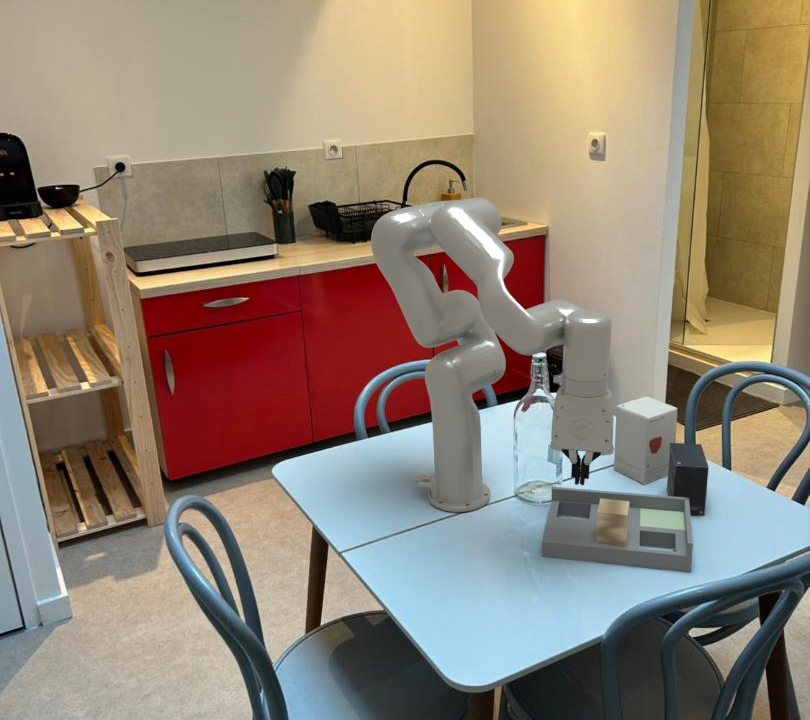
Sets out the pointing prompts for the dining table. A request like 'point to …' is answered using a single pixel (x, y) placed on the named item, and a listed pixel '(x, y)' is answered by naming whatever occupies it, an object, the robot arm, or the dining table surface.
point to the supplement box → (644, 438)
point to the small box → (688, 475)
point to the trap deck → (648, 526)
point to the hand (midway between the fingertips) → (579, 481)
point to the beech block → (612, 522)
